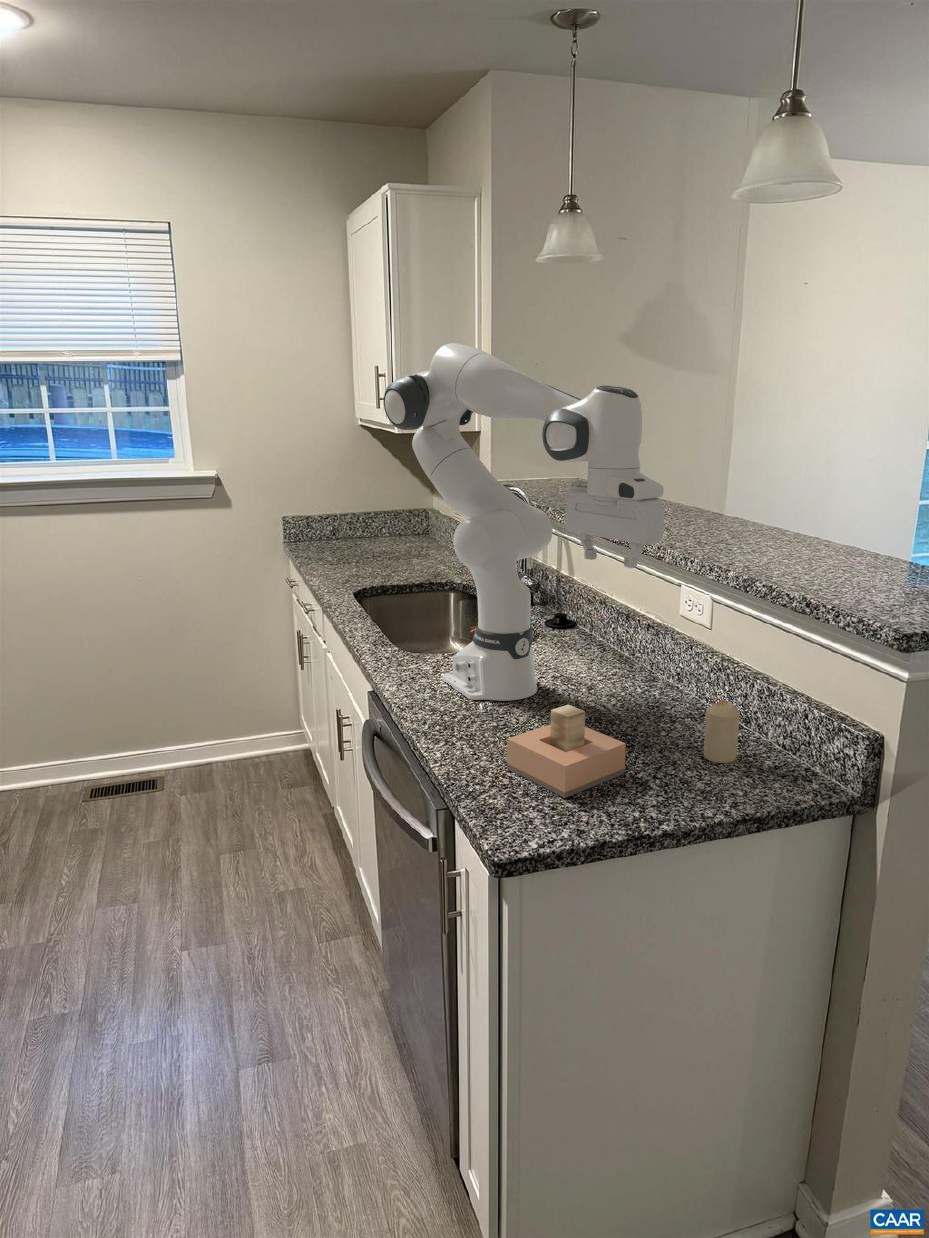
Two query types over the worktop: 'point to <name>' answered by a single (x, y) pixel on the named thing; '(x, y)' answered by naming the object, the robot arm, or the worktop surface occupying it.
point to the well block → (565, 761)
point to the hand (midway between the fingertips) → (609, 563)
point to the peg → (567, 728)
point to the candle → (721, 732)
